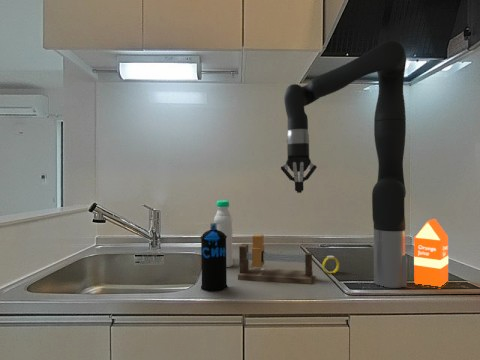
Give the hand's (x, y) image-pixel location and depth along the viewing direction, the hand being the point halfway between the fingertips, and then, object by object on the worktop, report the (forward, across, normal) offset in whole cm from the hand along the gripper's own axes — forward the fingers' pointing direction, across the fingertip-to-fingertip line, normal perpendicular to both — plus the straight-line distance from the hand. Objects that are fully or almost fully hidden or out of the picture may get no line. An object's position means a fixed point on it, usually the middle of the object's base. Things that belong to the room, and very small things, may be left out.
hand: (299, 192), depth 131 cm
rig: (+28, +8, +7) cm, 30 cm away
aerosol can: (+28, +25, +21) cm, 44 cm away
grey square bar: (+23, +8, +7) cm, 25 cm away
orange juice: (+29, -41, +4) cm, 51 cm away
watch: (+29, -10, -3) cm, 31 cm away
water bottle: (+28, +30, -6) cm, 41 cm away
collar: (+24, +14, +7) cm, 29 cm away
